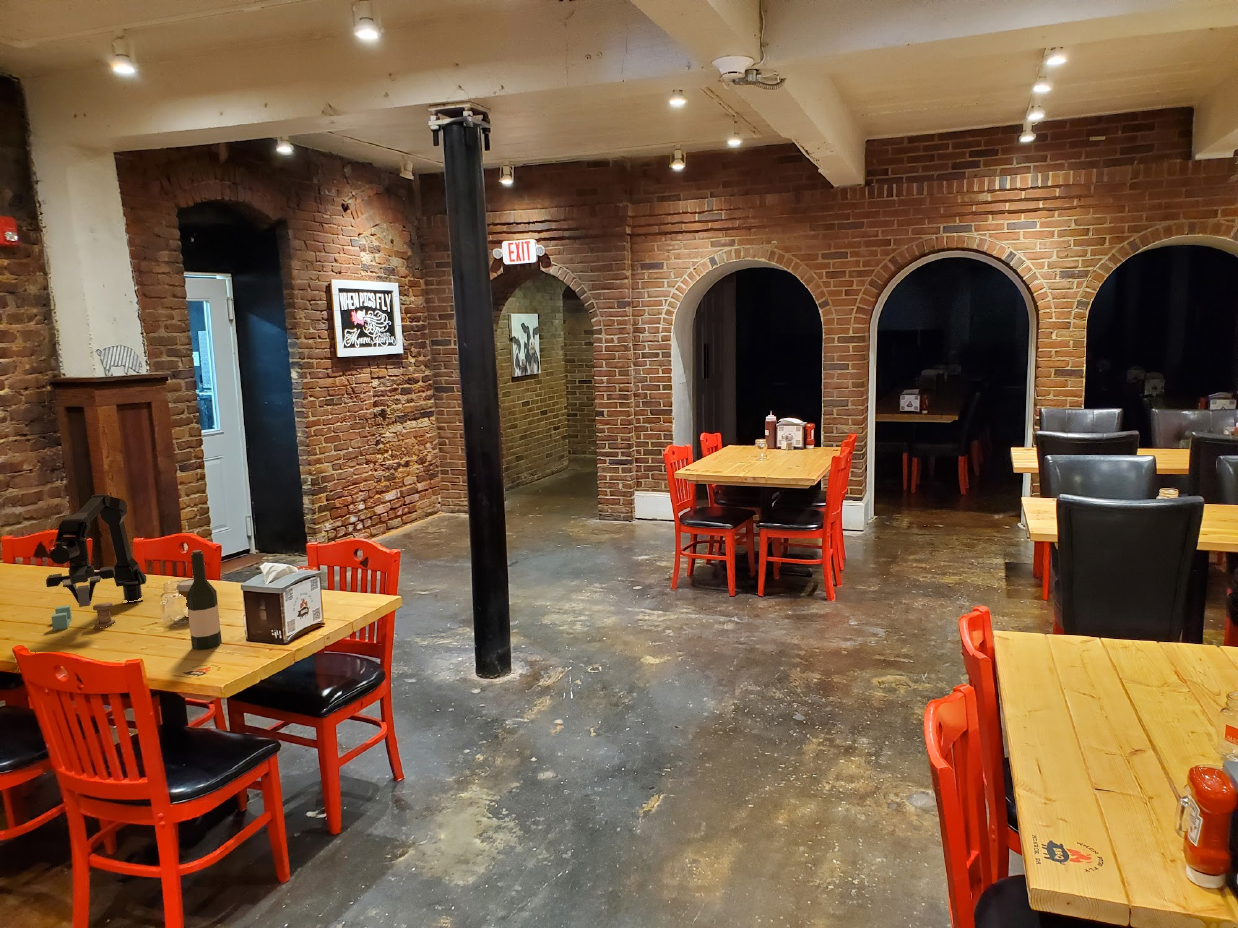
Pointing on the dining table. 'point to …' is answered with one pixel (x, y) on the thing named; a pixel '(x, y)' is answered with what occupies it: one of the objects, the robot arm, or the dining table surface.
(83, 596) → the grey upright block
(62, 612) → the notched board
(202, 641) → the wine bottle
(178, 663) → the dining table surface
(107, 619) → the spool
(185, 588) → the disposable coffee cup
